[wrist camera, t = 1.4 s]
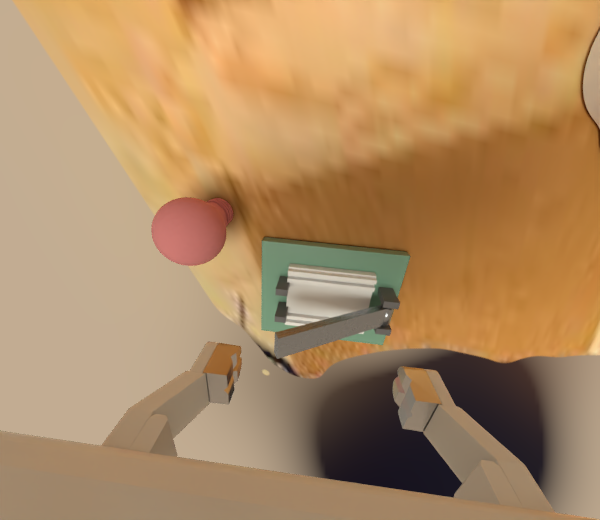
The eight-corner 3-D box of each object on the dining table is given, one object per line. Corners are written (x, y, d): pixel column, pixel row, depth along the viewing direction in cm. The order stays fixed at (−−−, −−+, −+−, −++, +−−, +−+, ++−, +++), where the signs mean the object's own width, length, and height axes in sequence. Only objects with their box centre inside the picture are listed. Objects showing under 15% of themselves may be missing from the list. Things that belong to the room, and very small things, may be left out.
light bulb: (212, 242, 35) (162, 285, 24) (187, 195, 32) (118, 221, 21) (255, 227, 33) (222, 267, 22) (232, 177, 30) (182, 194, 20)
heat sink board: (406, 251, 33) (419, 268, 28) (380, 338, 40) (387, 362, 35) (264, 236, 34) (255, 251, 29) (263, 324, 41) (256, 346, 36)
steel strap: (388, 301, 33) (396, 307, 32) (383, 318, 34) (391, 325, 33) (274, 330, 26) (279, 340, 25) (273, 350, 27) (278, 360, 26)
